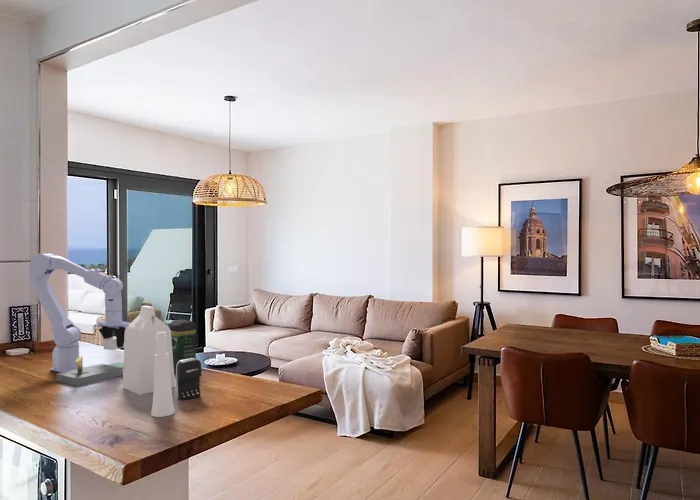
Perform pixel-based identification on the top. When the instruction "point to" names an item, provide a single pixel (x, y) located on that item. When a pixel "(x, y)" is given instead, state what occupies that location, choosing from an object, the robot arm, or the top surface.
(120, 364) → the mat
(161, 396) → the cosmetic bottle
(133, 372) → the milk
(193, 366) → the battery charger
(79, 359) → the brass lever handle
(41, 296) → the robot arm
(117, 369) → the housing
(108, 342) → the white square block
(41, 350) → the top surface
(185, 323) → the coffee jar
